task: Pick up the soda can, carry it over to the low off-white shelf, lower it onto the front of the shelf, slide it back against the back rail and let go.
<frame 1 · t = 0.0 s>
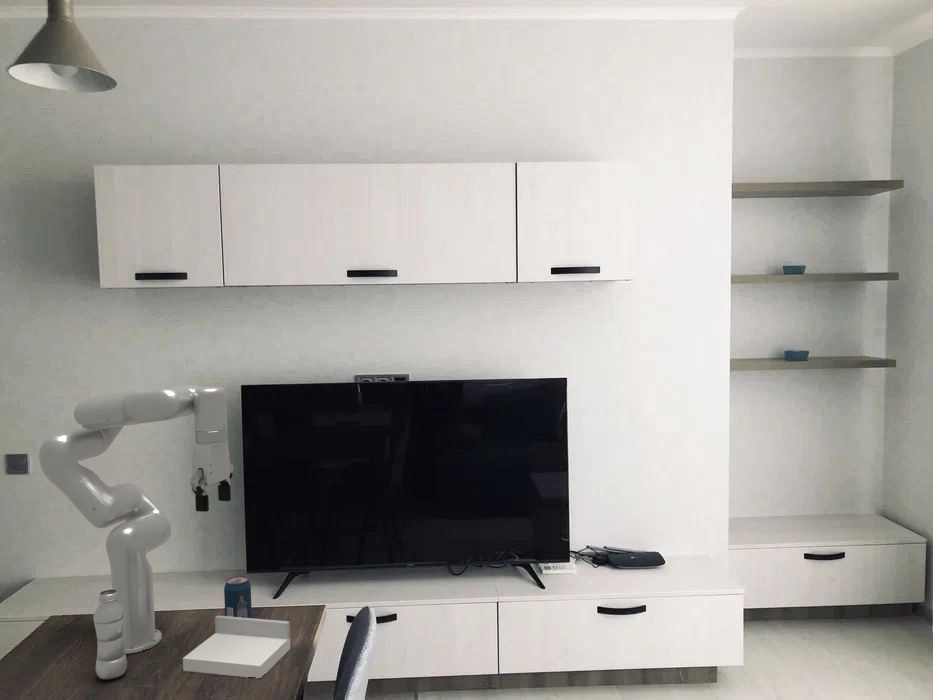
hand: (213, 505, 177), 37 cm above the table, tool pointing down, fingers open, 9 cm apart
plastic bottle: (111, 677, 168), on the table
shelf: (238, 659, 175), on the table
soda can: (238, 623, 196), on the table
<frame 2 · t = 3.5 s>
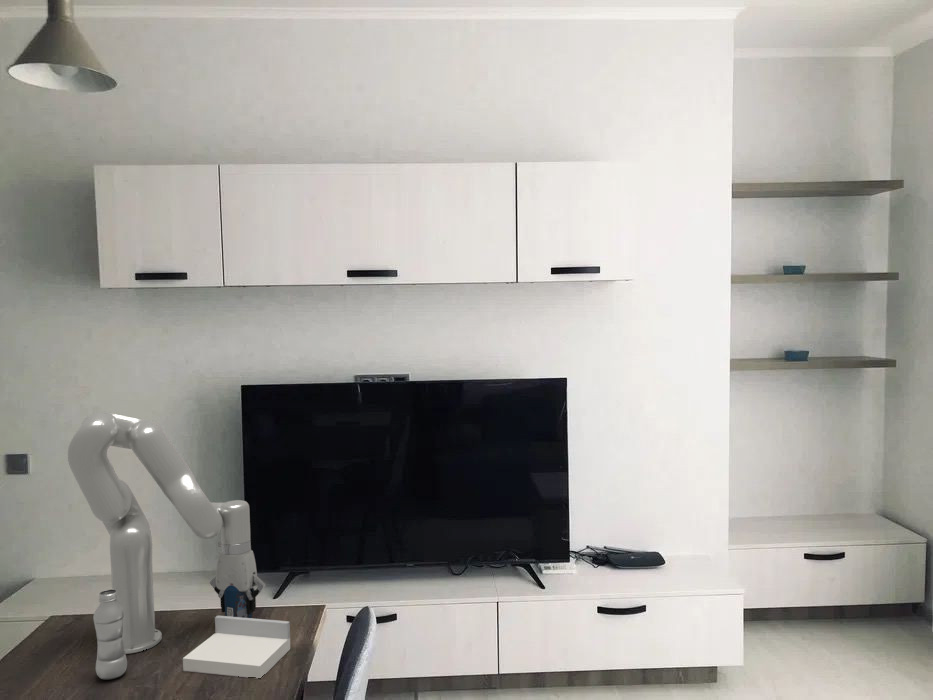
hand: (238, 611, 196), 3 cm above the table, tool pointing down, fingers closed on soda can, 7 cm apart
soda can: (238, 623, 196), on the table, touching gripper
everything else where it was.
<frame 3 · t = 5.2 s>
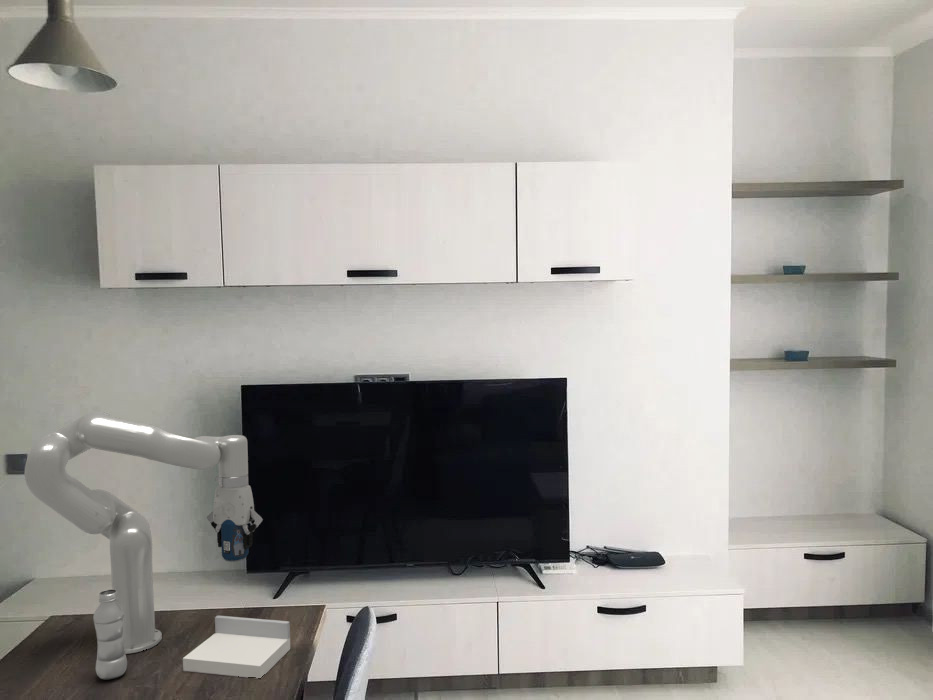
hand: (235, 546, 195), 21 cm above the table, tool pointing down, fingers closed on soda can, 7 cm apart
soda can: (235, 559, 195), point 18 cm above the table, touching gripper
everything else where it was.
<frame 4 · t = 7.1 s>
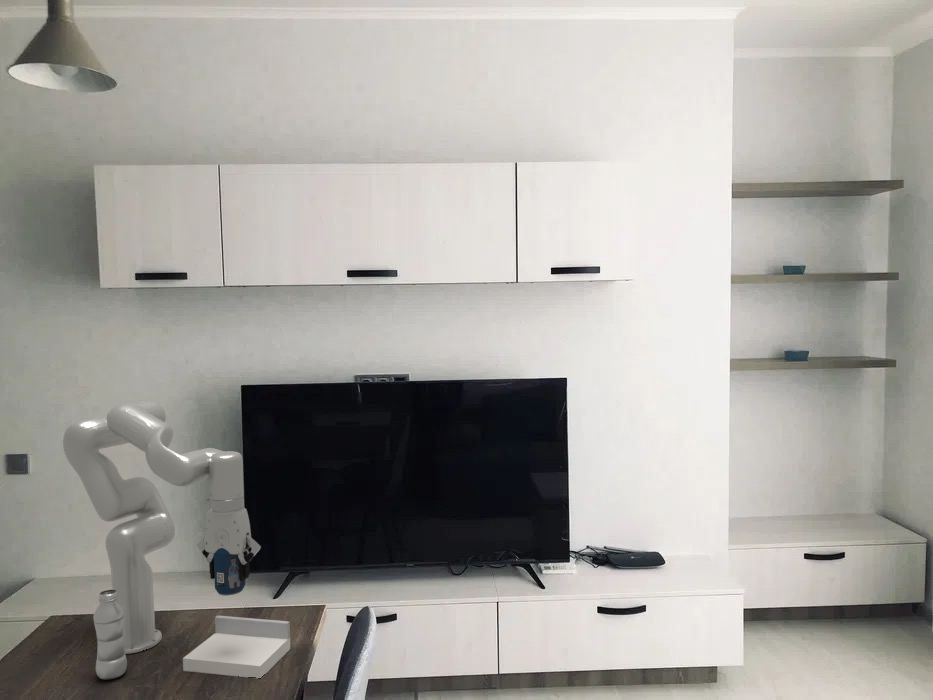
hand: (229, 577, 171), 21 cm above the table, tool pointing down, fingers closed on soda can, 7 cm apart
soda can: (230, 591, 172), point 18 cm above the table, touching gripper
everything else where it was.
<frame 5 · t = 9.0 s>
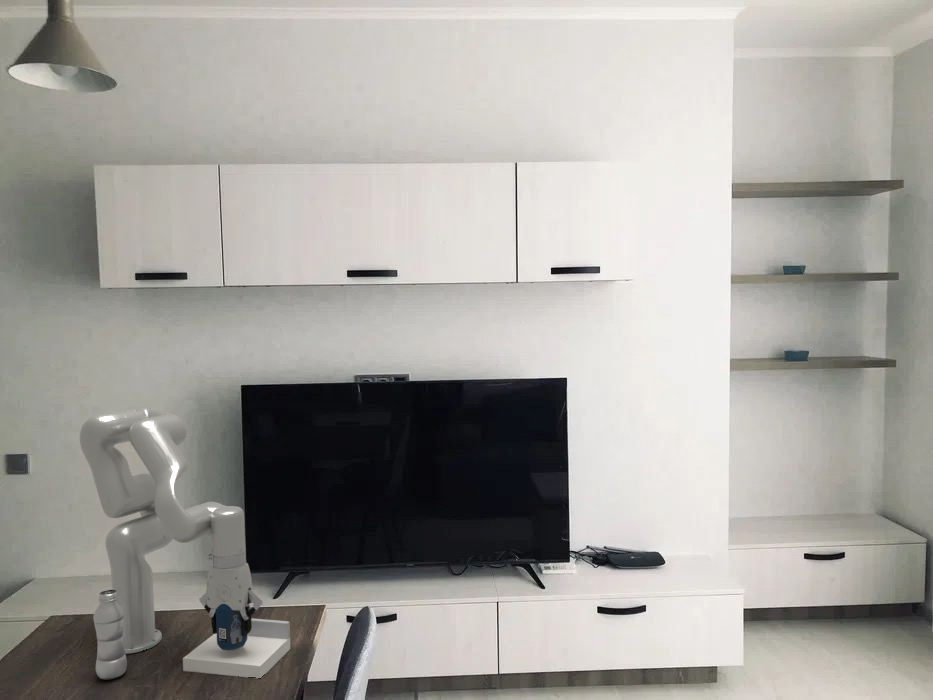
hand: (231, 632, 172), 8 cm above the table, tool pointing down, fingers closed on soda can, 7 cm apart
soda can: (232, 646, 172), point 4 cm above the table, touching gripper
everything else where it was.
when the fingers open (7 cm above the table, at t = 10.7 s): soda can stays where it is, resting on shelf.
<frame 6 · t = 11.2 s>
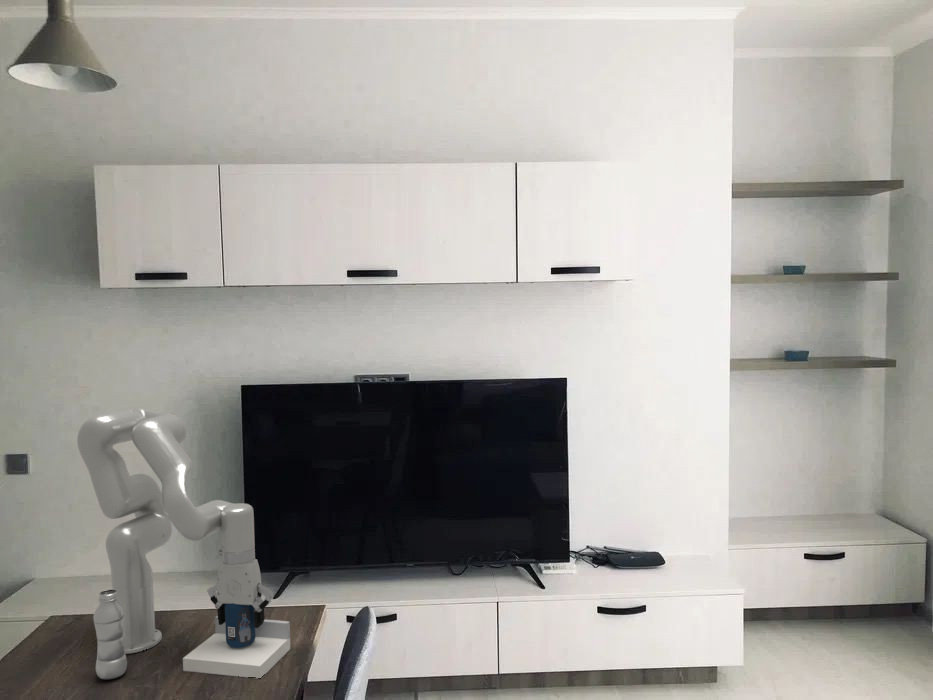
hand: (241, 624, 176), 8 cm above the table, tool pointing down, fingers open, 9 cm apart
soda can: (241, 644, 177), point 3 cm above the table, touching shelf
everything else where it was.
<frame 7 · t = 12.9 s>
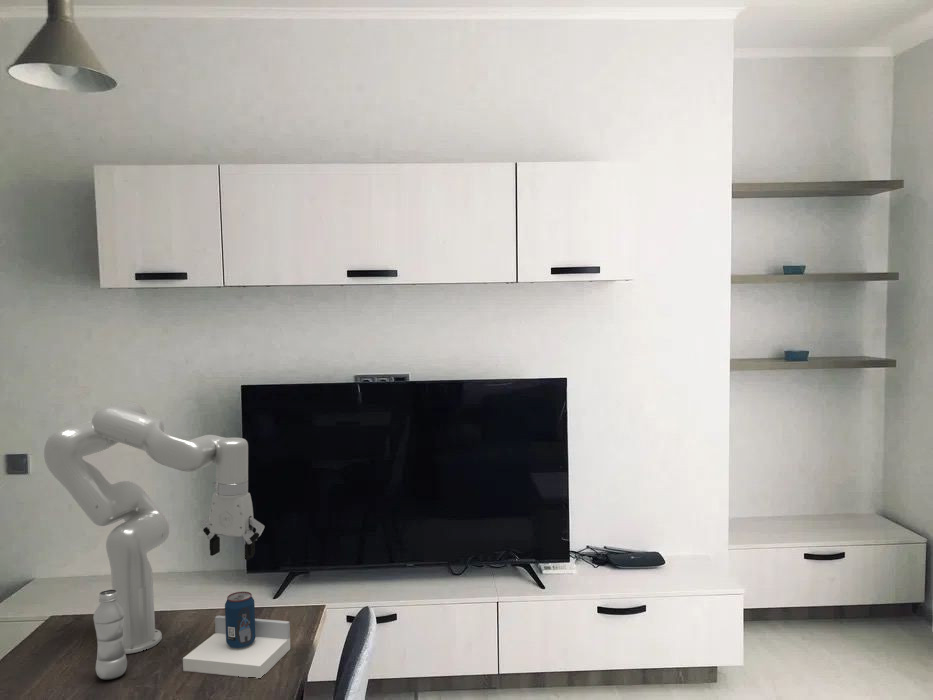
hand: (232, 556, 179), 24 cm above the table, tool pointing down, fingers open, 9 cm apart
nothing on the table moved.
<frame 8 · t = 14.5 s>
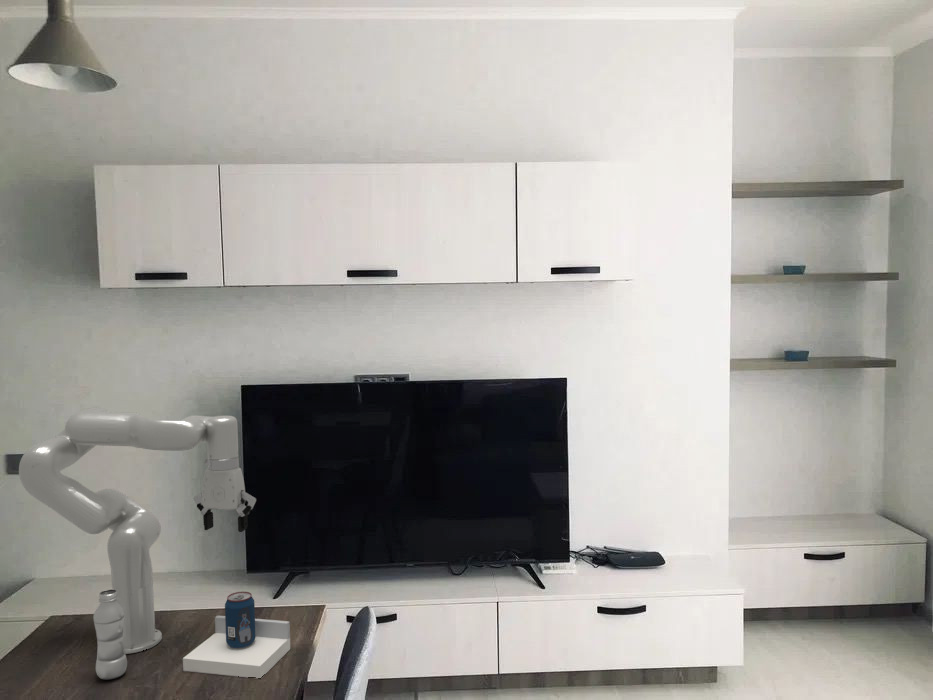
hand: (225, 529, 186), 28 cm above the table, tool pointing down, fingers open, 9 cm apart
nothing on the table moved.
at the end: soda can inside the target area on the shelf (0.9 cm from its centre), point 2.8 cm above the shelf's base; soda can tilted 0°; the gripper is holding nothing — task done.
